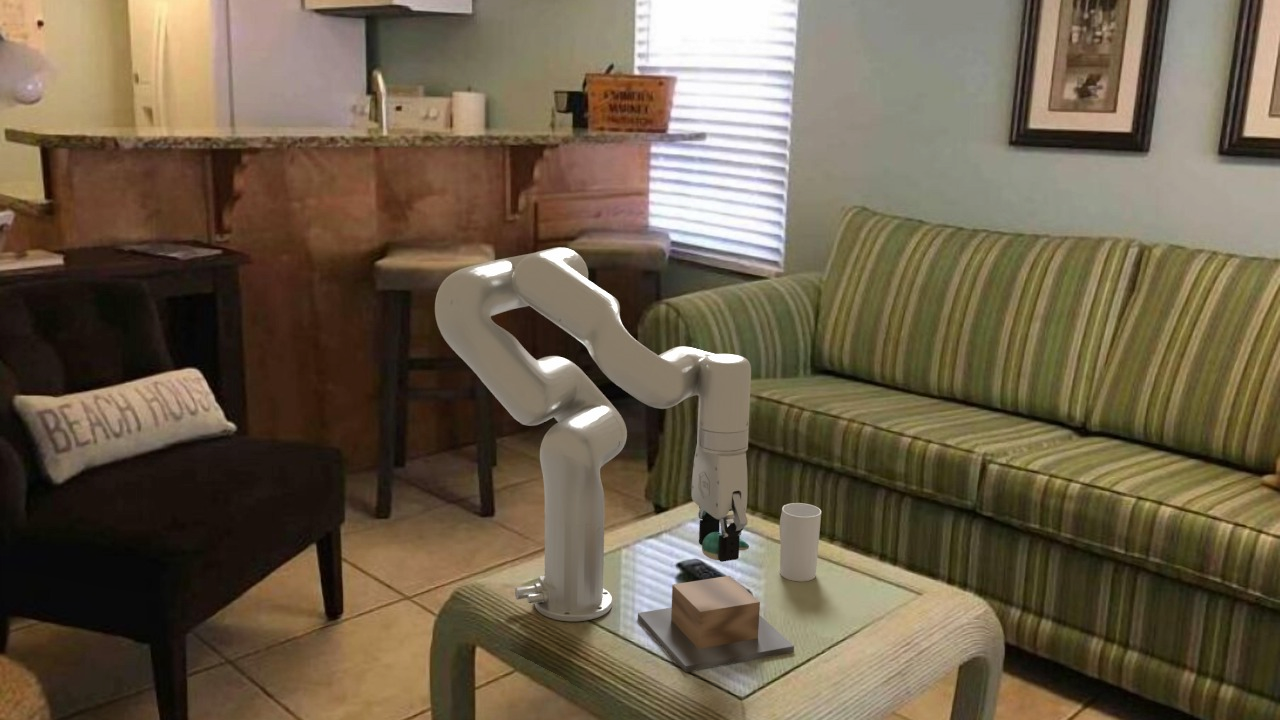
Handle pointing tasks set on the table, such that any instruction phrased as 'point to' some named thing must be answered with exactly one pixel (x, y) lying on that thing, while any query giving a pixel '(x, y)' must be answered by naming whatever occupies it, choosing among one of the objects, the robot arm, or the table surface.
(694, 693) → the table surface
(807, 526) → the mug
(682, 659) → the display plinth
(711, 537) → the whale figurine
